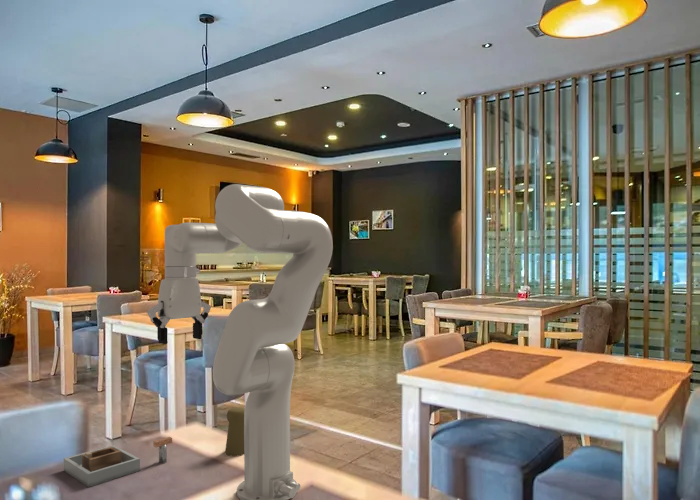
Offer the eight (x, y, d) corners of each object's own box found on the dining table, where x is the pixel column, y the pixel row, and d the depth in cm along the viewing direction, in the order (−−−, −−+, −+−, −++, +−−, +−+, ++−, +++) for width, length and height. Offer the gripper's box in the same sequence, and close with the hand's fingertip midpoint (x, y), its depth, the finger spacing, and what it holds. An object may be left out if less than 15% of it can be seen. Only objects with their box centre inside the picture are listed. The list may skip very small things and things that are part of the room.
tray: (139, 470, 123) (139, 458, 123) (88, 487, 115) (88, 474, 115) (113, 456, 132) (113, 444, 132) (63, 470, 124) (63, 458, 124)
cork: (235, 457, 131) (235, 413, 131) (220, 452, 135) (219, 408, 135) (254, 450, 136) (254, 407, 136) (238, 445, 139) (238, 403, 139)
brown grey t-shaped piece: (172, 460, 129) (172, 438, 129) (156, 465, 126) (156, 442, 126) (168, 458, 131) (168, 436, 131) (152, 463, 127) (152, 441, 128)
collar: (112, 461, 128) (112, 443, 128) (121, 466, 124) (121, 447, 124) (81, 469, 122) (81, 451, 122) (90, 475, 119) (90, 456, 119)
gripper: (201, 272, 144) (201, 335, 144) (140, 274, 131) (140, 343, 131) (217, 272, 139) (218, 338, 139) (156, 274, 126) (156, 347, 126)
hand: (180, 340), depth 135 cm, fingers open, 9 cm apart
